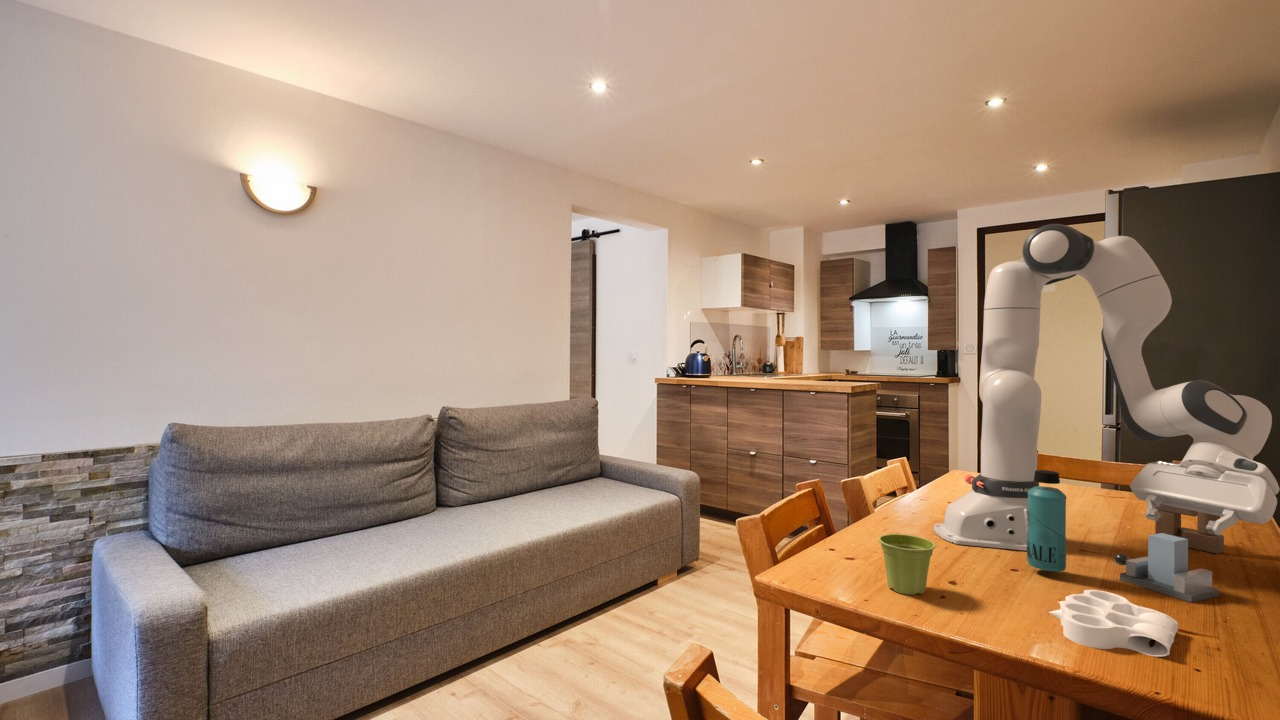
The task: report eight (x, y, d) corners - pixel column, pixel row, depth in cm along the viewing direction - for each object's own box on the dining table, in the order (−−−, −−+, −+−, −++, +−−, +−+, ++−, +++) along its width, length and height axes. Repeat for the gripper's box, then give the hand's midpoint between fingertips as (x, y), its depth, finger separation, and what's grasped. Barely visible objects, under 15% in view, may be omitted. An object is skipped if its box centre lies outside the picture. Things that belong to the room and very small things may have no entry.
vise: (1191, 602, 101) (1191, 579, 101) (1119, 579, 111) (1120, 558, 111) (1219, 596, 104) (1219, 573, 104) (1146, 574, 114) (1147, 553, 114)
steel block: (1174, 586, 105) (1174, 541, 105) (1148, 578, 109) (1148, 535, 109) (1187, 583, 106) (1188, 539, 106) (1161, 575, 110) (1161, 532, 110)
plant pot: (881, 576, 113) (881, 530, 113) (935, 584, 109) (936, 537, 109) (875, 593, 105) (875, 544, 105) (934, 603, 101) (935, 552, 101)
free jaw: (1134, 577, 109) (1135, 563, 109) (1101, 566, 114) (1101, 553, 114) (1162, 571, 112) (1162, 557, 112) (1128, 561, 117) (1128, 548, 117)
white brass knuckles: (1165, 672, 79) (1038, 634, 90) (1180, 630, 92) (1066, 601, 102) (1165, 647, 79) (1038, 612, 90) (1180, 608, 92) (1066, 582, 102)
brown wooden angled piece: (1161, 538, 137) (1162, 460, 137) (1224, 552, 127) (1224, 468, 127) (1154, 541, 135) (1154, 462, 135) (1217, 554, 125) (1217, 470, 125)
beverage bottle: (1060, 569, 116) (1060, 468, 116) (1072, 582, 110) (1073, 474, 110) (1022, 566, 119) (1022, 466, 118) (1031, 577, 112) (1032, 472, 112)
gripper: (1142, 449, 121) (1110, 500, 118) (1278, 467, 102) (1244, 529, 99) (1156, 469, 123) (1124, 521, 119) (1292, 491, 103) (1259, 553, 100)
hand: (1180, 525), depth 109 cm, fingers open, 8 cm apart
